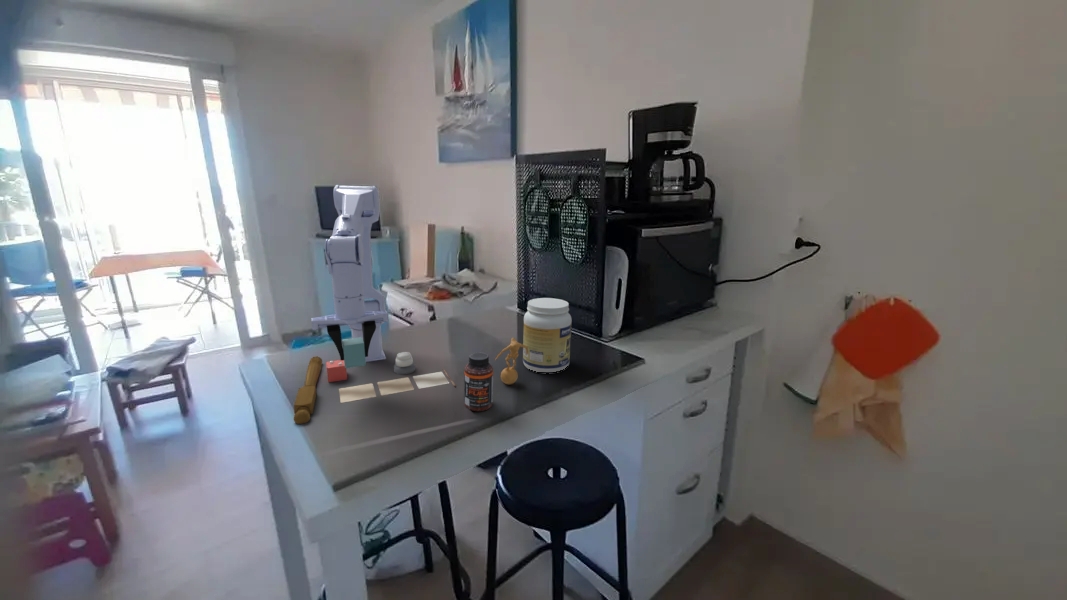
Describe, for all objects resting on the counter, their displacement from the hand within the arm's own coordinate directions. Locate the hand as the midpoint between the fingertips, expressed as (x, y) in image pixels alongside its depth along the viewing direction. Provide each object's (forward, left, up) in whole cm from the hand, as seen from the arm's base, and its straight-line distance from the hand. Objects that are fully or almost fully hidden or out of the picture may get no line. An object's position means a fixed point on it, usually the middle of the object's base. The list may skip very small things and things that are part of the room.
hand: (354, 356), depth 91 cm
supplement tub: (+2, +45, -9) cm, 46 cm away
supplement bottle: (+15, +22, -9) cm, 29 cm away
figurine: (+9, +32, -9) cm, 35 cm away
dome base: (-8, +11, -9) cm, 17 cm away
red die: (-10, -4, -9) cm, 14 cm away
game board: (0, +8, -9) cm, 12 cm away
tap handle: (-6, -9, -10) cm, 14 cm away
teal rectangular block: (0, 0, -2) cm, 2 cm away
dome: (-8, +12, -7) cm, 15 cm away
